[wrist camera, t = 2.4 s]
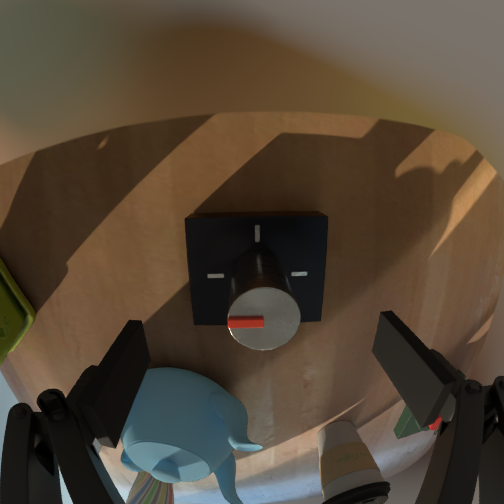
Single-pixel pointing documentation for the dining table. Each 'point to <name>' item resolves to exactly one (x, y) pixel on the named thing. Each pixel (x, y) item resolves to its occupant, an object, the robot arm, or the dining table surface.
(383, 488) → the coffee cup
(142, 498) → the vase
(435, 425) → the button
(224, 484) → the teapot
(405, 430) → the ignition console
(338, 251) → the dining table surface
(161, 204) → the dining table surface
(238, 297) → the stove knob
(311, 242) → the panel
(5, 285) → the flower pot
